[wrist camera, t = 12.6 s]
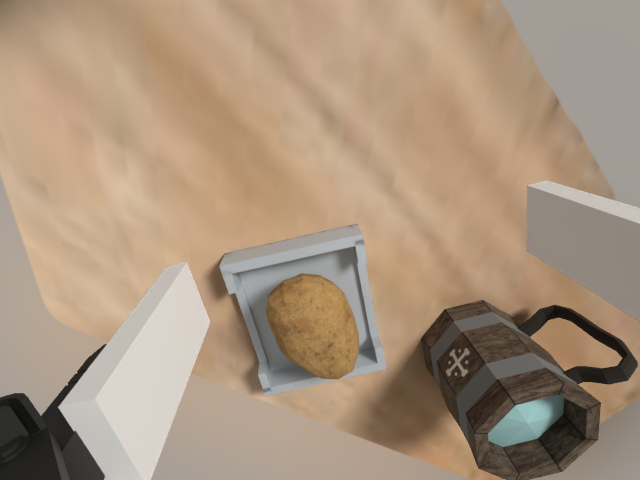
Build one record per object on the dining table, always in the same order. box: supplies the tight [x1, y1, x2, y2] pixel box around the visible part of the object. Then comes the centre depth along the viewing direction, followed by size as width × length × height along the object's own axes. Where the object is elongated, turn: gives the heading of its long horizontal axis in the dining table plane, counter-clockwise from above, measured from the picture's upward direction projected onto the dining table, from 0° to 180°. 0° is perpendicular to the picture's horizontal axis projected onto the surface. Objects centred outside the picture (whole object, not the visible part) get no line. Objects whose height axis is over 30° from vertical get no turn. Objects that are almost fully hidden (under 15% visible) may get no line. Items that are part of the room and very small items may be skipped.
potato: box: [266, 273, 359, 380], centre depth 41 cm, size 10×14×8 cm
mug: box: [422, 300, 638, 480], centre depth 41 cm, size 20×14×15 cm
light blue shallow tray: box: [219, 224, 387, 396], centre depth 43 cm, size 19×16×4 cm
